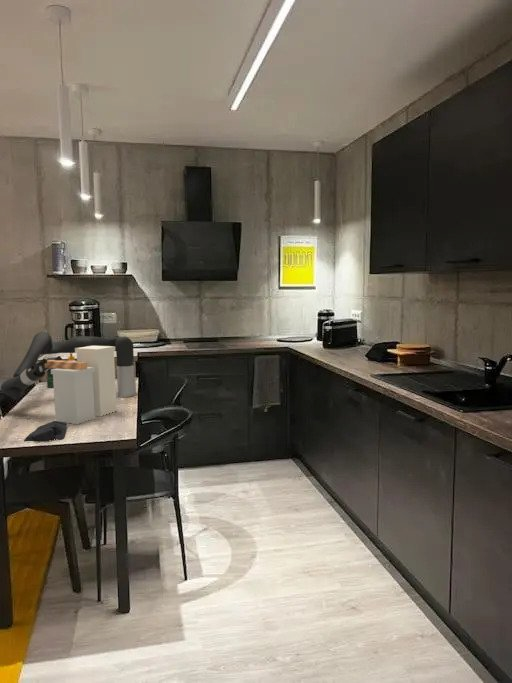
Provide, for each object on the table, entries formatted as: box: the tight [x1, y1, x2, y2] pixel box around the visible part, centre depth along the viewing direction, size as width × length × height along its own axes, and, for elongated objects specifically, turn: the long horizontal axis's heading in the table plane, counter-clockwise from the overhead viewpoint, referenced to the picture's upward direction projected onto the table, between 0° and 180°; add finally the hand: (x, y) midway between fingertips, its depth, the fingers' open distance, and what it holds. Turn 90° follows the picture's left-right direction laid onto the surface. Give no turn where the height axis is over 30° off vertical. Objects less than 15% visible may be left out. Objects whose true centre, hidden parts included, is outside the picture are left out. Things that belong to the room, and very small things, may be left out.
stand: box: [75, 346, 118, 417], centre depth 244 cm, size 14×12×32 cm
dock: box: [51, 367, 96, 425], centre depth 231 cm, size 14×12×24 cm
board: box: [45, 360, 87, 370], centre depth 231 cm, size 22×4×3 cm, turn 65°
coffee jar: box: [46, 356, 63, 389], centre depth 315 cm, size 10×8×19 cm
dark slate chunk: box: [23, 420, 68, 442], centre depth 210 cm, size 15×22×5 cm
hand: (53, 358), depth 234 cm, fingers open, 8 cm apart
